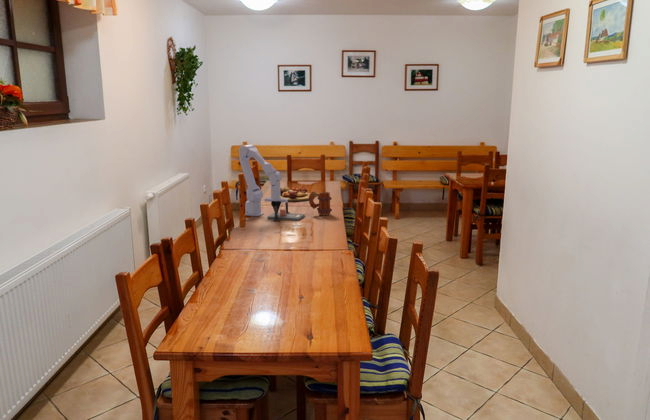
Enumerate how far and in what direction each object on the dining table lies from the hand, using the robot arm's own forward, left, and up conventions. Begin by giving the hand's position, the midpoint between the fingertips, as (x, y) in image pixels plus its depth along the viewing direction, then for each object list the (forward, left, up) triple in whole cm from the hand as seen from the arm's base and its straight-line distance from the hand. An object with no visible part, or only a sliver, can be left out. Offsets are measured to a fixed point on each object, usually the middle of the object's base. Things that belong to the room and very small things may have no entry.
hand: (276, 213), depth 315 cm
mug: (+24, +13, -3) cm, 28 cm away
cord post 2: (+3, +9, -2) cm, 10 cm away
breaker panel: (+6, 0, -2) cm, 7 cm away
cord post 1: (+3, -9, -2) cm, 10 cm away
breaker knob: (+4, 0, -1) cm, 4 cm away
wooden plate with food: (-12, +63, -3) cm, 64 cm away
